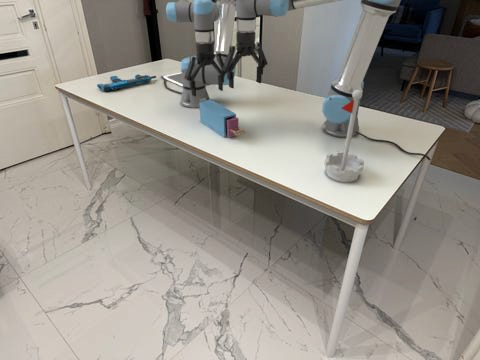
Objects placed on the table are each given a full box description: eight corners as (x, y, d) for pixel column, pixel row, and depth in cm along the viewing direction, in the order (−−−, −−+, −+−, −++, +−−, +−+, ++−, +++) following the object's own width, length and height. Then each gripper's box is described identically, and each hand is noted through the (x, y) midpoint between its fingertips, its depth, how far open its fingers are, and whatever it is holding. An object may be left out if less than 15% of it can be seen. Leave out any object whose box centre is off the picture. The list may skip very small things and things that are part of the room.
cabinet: (236, 134, 147) (236, 113, 142) (224, 137, 144) (223, 117, 139) (211, 118, 162) (210, 99, 157) (200, 121, 159) (199, 102, 154)
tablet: (160, 77, 217) (160, 76, 217) (187, 71, 229) (187, 71, 228) (188, 89, 197) (188, 88, 197) (215, 82, 208) (215, 81, 208)
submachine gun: (141, 69, 223) (160, 75, 207) (142, 74, 225) (161, 81, 209) (89, 79, 205) (105, 87, 188) (91, 85, 207) (107, 93, 190)
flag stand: (346, 161, 127) (361, 81, 110) (369, 179, 117) (390, 94, 100) (316, 168, 123) (327, 86, 106) (337, 186, 113) (353, 99, 96)
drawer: (245, 139, 141) (245, 122, 137) (235, 142, 139) (235, 125, 134) (214, 119, 158) (214, 104, 154) (205, 121, 156) (204, 106, 152)
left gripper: (225, 37, 148) (226, 85, 159) (173, 44, 136) (178, 95, 147) (235, 40, 142) (235, 89, 154) (181, 47, 131) (186, 100, 142)
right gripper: (267, 26, 140) (264, 78, 152) (213, 32, 129) (215, 87, 141) (277, 29, 135) (274, 82, 146) (222, 35, 124) (223, 92, 136)
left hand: (207, 92), depth 151 cm, fingers open, 13 cm apart
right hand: (245, 85), depth 144 cm, fingers open, 13 cm apart
